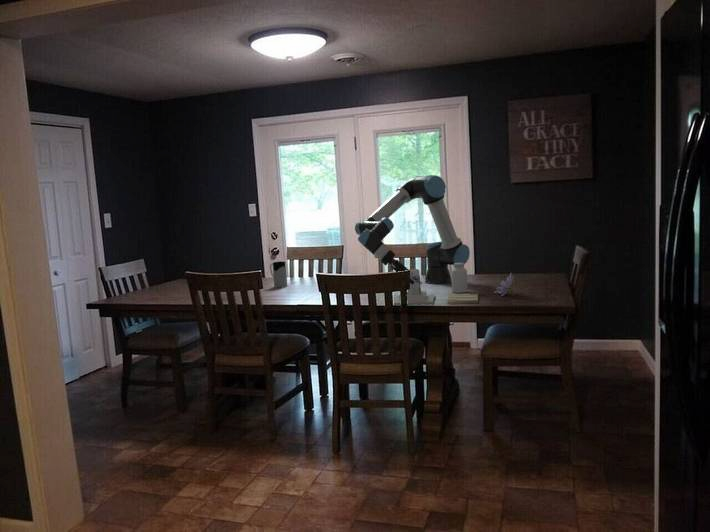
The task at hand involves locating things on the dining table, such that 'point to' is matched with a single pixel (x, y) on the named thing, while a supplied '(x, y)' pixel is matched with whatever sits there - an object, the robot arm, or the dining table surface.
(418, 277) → the syrup box
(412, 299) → the collar holder
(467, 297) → the ash board
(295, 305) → the dining table surface
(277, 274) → the glass holder
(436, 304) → the dining table surface
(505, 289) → the water lily
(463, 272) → the pill bottle
